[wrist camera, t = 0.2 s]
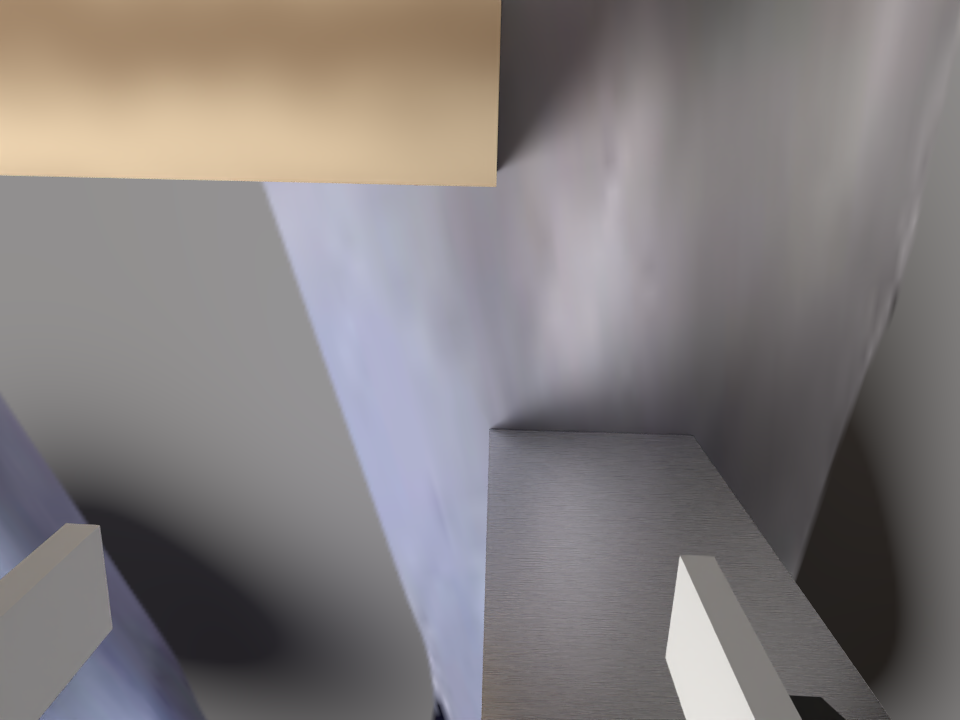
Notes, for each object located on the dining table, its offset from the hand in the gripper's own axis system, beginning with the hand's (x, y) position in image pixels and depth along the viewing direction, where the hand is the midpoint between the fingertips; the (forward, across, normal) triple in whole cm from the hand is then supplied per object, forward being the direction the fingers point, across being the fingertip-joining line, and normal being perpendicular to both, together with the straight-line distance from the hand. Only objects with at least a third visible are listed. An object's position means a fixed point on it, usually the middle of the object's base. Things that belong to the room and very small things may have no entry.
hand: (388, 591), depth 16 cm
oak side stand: (+28, -7, +13) cm, 32 cm away
